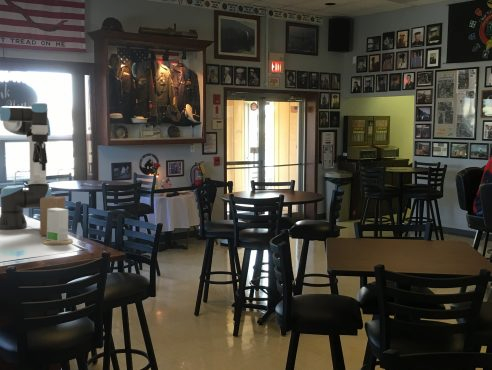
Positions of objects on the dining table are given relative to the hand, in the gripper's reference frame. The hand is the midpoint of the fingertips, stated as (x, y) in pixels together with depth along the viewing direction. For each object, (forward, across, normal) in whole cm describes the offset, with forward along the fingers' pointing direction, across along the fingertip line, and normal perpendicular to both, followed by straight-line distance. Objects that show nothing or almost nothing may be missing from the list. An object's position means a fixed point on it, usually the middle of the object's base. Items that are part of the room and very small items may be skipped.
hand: (39, 176), depth 281 cm
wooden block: (+32, -7, +8) cm, 34 cm away
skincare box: (+31, +14, +5) cm, 34 cm away
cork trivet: (+32, +14, +5) cm, 35 cm away
